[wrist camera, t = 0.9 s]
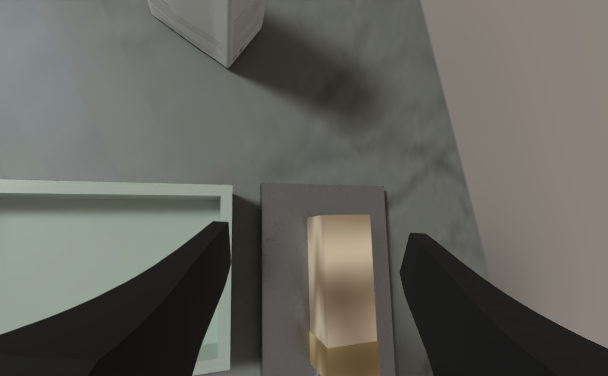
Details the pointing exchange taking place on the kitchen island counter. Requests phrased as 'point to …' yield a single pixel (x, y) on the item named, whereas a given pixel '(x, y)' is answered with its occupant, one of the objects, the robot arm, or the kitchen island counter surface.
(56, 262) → the bin
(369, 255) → the tan long block
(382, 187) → the mount
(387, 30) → the kitchen island counter surface
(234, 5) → the skincare box
